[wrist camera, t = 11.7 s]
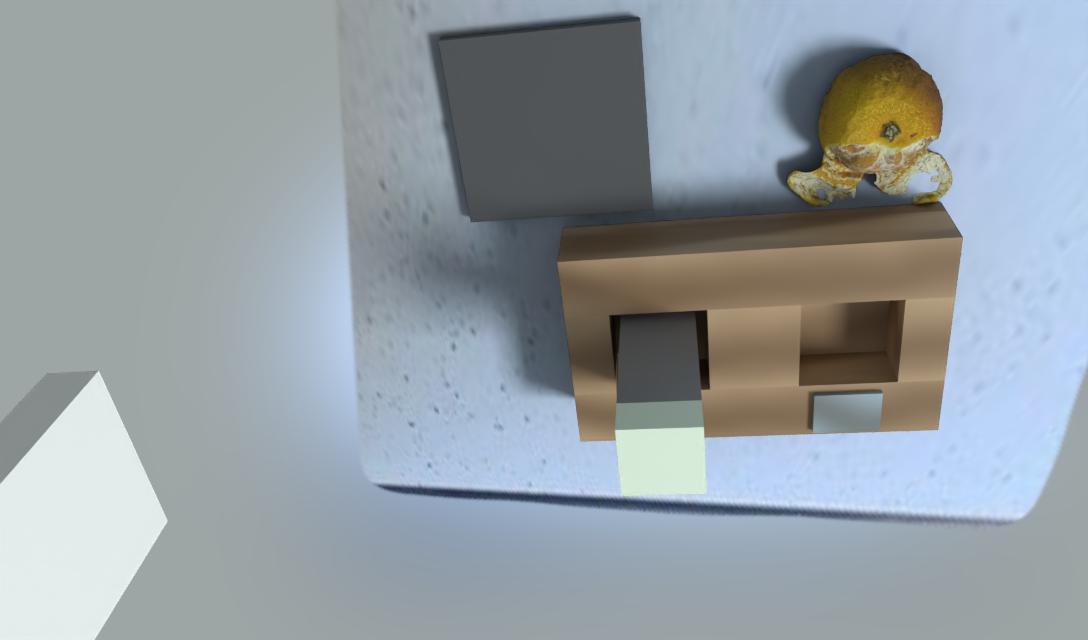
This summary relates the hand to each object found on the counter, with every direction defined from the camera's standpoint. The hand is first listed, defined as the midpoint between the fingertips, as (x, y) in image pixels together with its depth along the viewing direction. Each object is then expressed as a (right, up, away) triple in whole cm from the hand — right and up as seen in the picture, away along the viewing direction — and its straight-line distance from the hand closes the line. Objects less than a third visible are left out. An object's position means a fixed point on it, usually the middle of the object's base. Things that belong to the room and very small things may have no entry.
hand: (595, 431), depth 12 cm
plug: (+6, +1, +41) cm, 41 cm away
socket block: (+11, +2, +41) cm, 43 cm away
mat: (0, +12, +36) cm, 38 cm away
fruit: (+16, +11, +36) cm, 40 cm away
